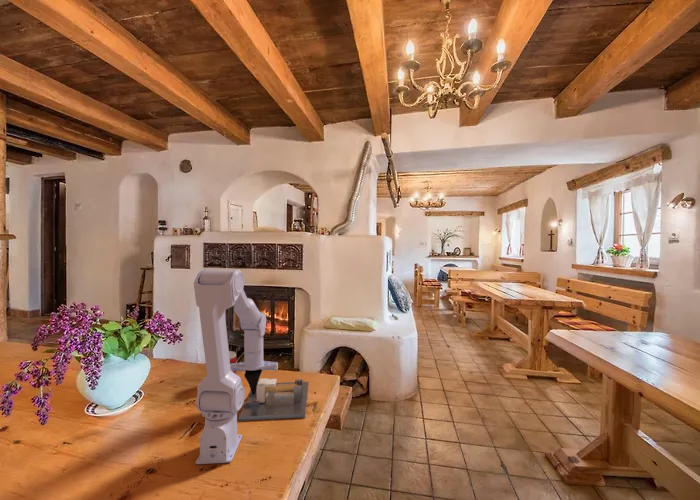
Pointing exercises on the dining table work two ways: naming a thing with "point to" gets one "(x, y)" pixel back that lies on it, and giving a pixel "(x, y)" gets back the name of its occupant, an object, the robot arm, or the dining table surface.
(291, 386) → the strap
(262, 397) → the latch
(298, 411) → the base plate
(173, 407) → the dining table surface
